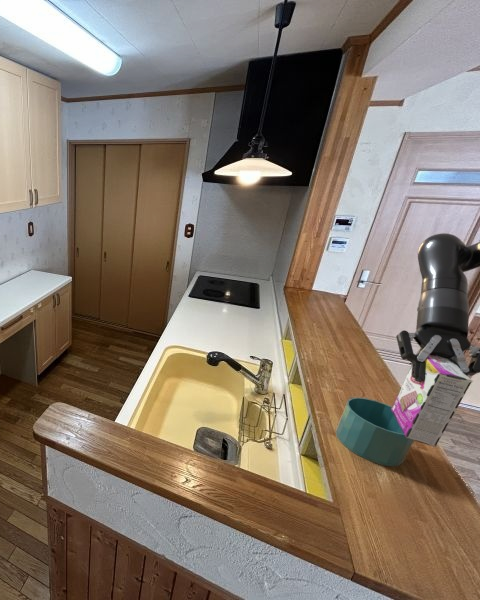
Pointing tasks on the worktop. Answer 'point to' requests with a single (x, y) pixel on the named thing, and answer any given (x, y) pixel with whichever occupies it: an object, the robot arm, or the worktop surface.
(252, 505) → the worktop surface
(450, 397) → the candy bar box
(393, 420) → the bucket
